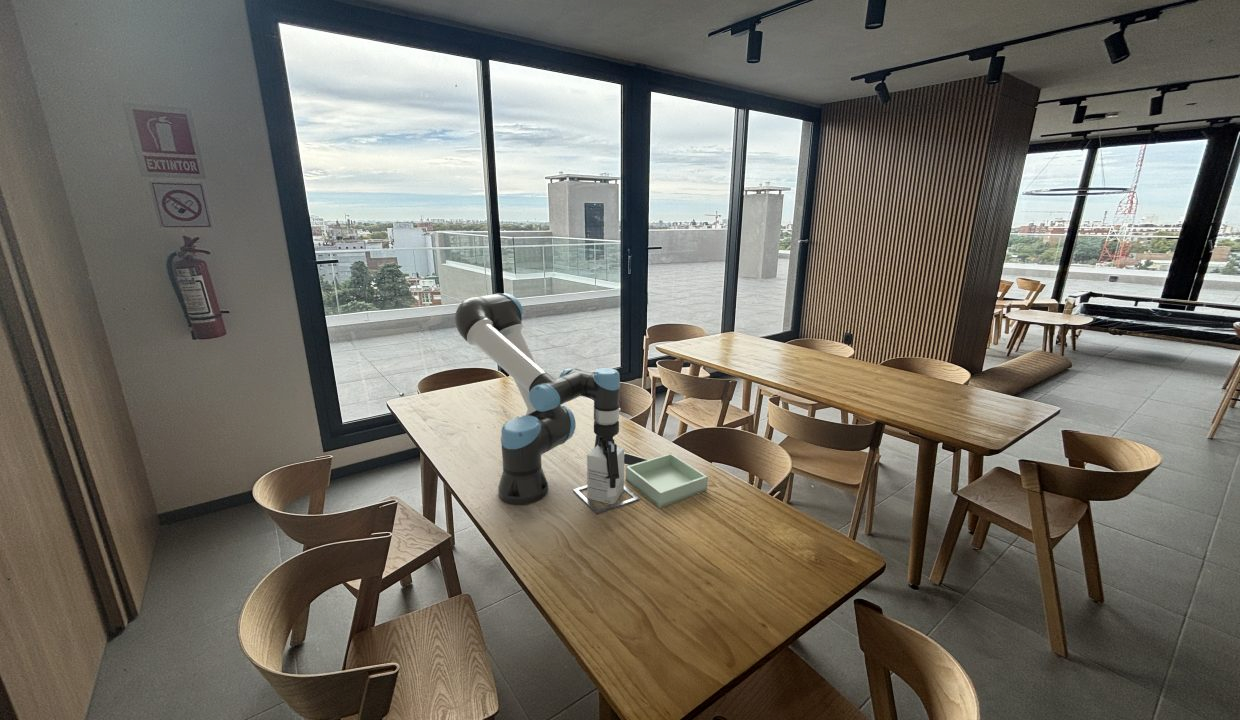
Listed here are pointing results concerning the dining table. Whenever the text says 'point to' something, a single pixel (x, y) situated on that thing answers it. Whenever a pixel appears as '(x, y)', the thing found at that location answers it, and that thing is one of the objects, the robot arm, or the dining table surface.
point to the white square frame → (633, 499)
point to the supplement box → (603, 476)
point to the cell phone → (632, 459)
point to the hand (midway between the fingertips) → (605, 485)
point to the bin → (666, 479)
